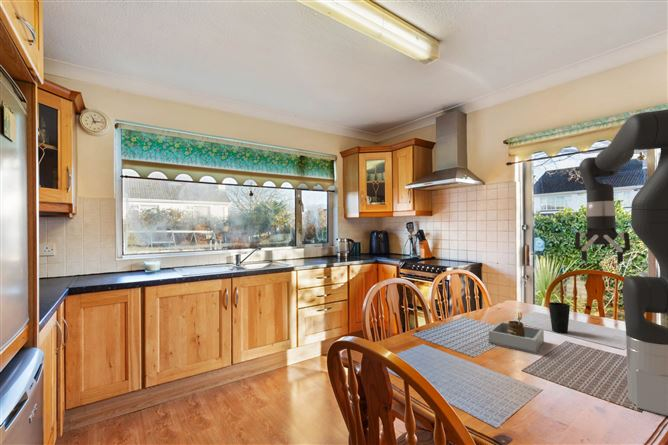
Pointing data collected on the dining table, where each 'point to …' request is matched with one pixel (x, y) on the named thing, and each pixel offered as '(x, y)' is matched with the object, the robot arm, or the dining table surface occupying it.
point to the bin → (517, 338)
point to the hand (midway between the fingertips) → (602, 262)
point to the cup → (559, 317)
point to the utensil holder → (516, 327)
